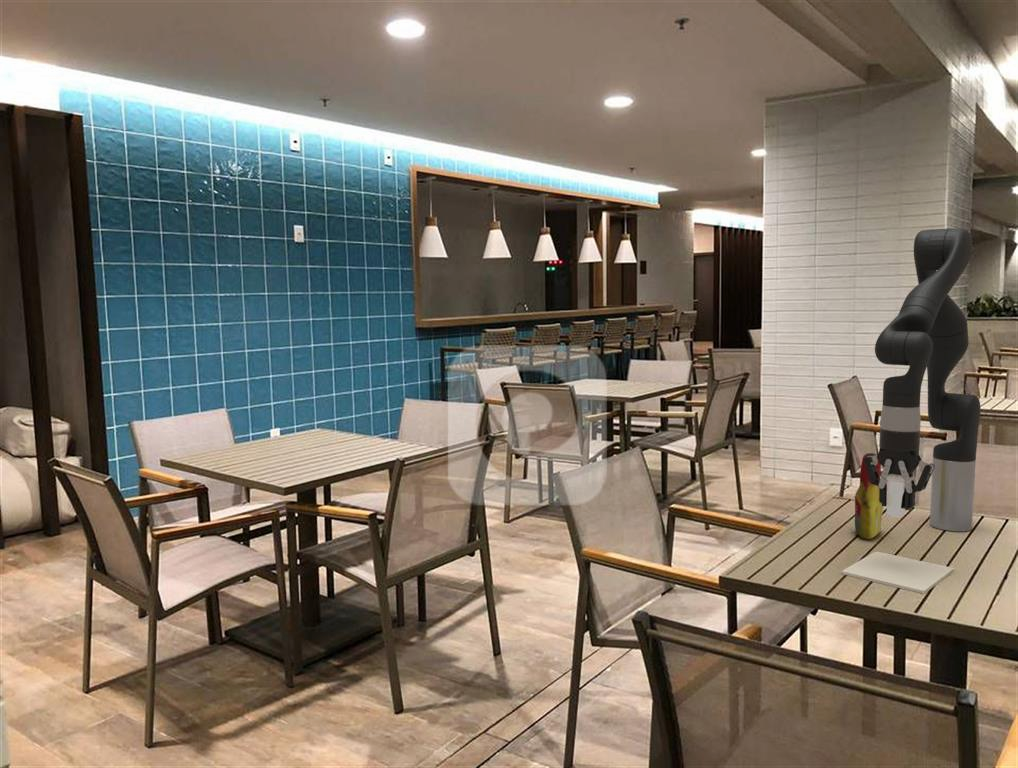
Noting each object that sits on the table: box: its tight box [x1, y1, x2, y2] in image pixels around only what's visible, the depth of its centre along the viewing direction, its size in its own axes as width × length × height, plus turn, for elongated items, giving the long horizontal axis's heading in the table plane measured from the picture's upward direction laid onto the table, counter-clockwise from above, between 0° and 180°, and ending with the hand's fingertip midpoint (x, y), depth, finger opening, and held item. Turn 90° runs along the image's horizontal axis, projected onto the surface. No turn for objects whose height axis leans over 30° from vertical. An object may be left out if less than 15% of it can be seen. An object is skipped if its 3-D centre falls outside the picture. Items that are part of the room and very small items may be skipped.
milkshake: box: [886, 470, 915, 518], centre depth 168 cm, size 5×5×10 cm
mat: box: [841, 550, 955, 595], centre depth 166 cm, size 18×16×1 cm
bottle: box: [854, 452, 884, 540], centre depth 191 cm, size 12×6×20 cm, turn 150°
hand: (896, 507), depth 169 cm, fingers closed on milkshake, 4 cm apart
